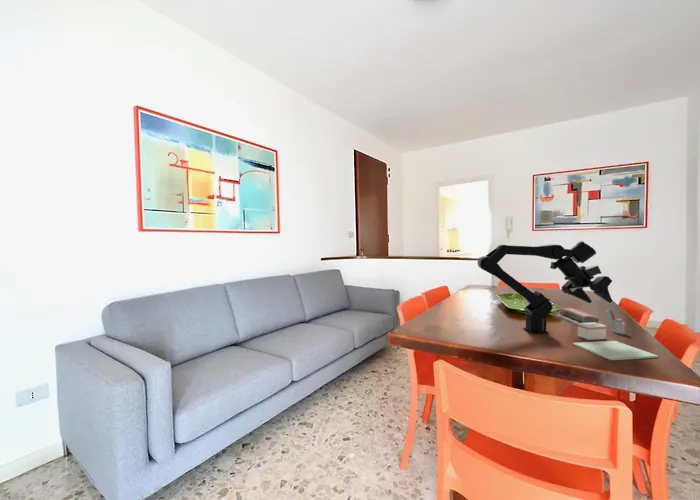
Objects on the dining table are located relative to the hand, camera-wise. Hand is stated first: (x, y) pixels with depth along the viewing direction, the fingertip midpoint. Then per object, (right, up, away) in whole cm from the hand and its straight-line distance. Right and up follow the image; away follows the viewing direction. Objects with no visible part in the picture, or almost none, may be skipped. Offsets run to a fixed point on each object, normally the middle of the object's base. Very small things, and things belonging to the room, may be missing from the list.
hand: (600, 302), depth 118 cm
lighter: (+9, -12, +4) cm, 16 cm away
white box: (-6, -13, -3) cm, 14 cm away
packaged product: (+5, -12, +18) cm, 23 cm away
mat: (-9, -13, -16) cm, 23 cm away
